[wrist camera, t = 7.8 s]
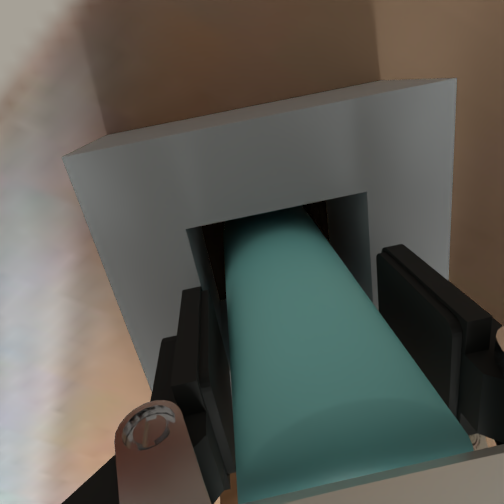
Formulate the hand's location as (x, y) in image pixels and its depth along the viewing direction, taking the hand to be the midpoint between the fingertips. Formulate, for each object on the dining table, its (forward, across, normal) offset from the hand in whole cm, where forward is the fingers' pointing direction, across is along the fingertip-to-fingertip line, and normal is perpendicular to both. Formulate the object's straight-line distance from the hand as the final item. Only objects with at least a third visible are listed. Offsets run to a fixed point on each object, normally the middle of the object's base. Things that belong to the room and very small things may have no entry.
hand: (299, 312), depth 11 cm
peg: (+7, 0, 0) cm, 7 cm away
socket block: (+6, 0, 0) cm, 6 cm away
